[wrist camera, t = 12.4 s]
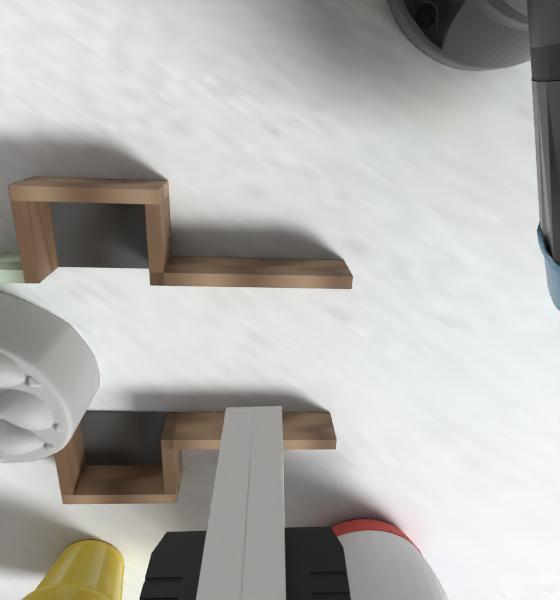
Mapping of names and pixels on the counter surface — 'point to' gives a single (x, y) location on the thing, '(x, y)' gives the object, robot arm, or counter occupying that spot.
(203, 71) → the counter surface
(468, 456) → the counter surface
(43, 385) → the lumpy-topped squat cylinder
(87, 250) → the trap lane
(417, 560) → the citrus juicer
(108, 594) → the plant pot
